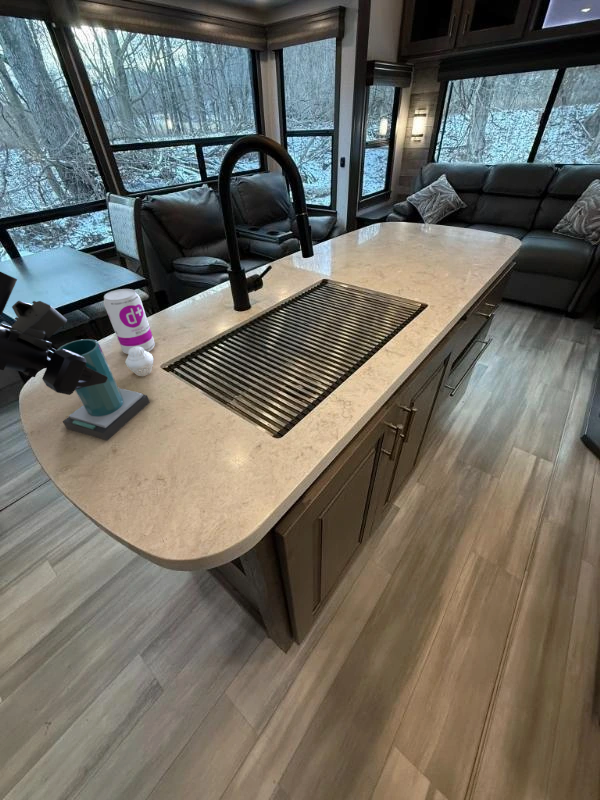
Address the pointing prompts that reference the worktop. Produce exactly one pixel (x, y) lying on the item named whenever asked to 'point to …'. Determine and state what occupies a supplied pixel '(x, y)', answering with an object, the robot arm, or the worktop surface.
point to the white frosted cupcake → (139, 361)
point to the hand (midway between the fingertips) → (92, 371)
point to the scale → (107, 417)
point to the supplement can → (128, 319)
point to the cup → (98, 396)
